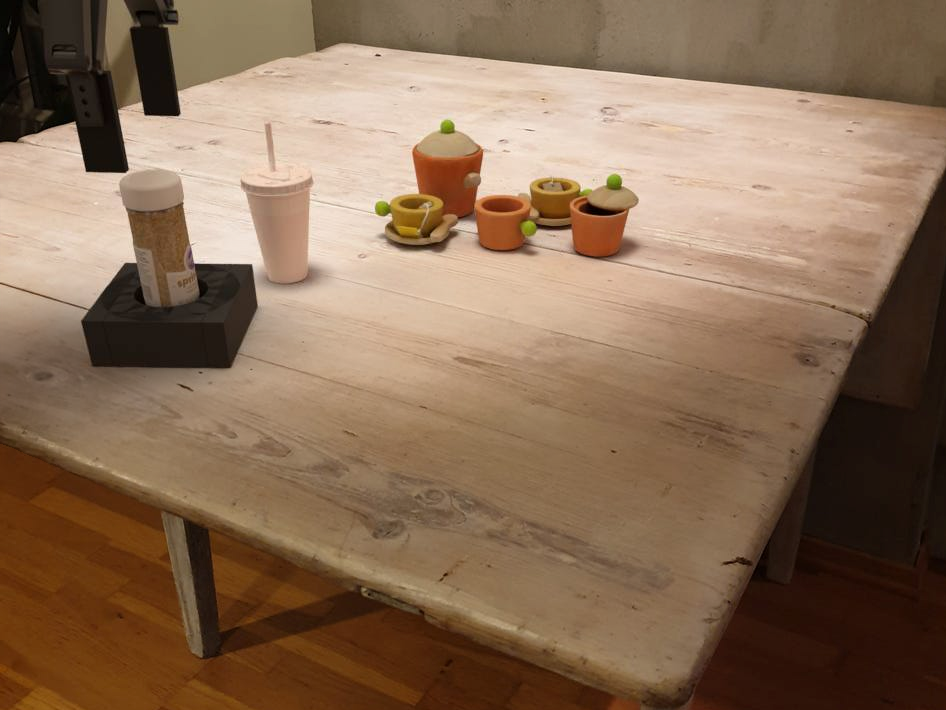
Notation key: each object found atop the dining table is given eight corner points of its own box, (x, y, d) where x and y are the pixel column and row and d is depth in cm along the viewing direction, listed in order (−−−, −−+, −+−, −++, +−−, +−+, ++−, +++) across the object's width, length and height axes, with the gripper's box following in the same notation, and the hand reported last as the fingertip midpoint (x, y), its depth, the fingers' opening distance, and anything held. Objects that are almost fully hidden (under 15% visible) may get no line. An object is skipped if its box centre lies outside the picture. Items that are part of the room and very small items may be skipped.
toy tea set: (367, 248, 96) (362, 151, 91) (403, 194, 109) (400, 107, 103) (631, 268, 93) (642, 169, 87) (637, 210, 105) (646, 121, 100)
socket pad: (91, 366, 77) (80, 320, 74) (133, 304, 86) (124, 262, 83) (230, 367, 76) (223, 322, 74) (258, 305, 86) (252, 263, 83)
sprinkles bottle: (208, 343, 80) (180, 184, 72) (150, 350, 79) (116, 189, 71) (205, 319, 83) (179, 165, 76) (150, 325, 82) (118, 169, 75)
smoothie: (302, 256, 95) (287, 109, 87) (334, 278, 90) (321, 127, 82) (241, 271, 91) (220, 121, 84) (271, 295, 87) (252, 140, 79)
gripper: (63, -200, 49) (137, 201, 62) (188, -205, 70) (225, 96, 82) (-84, -204, 49) (19, 198, 61) (84, -208, 70) (137, 94, 82)
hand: (137, 141), depth 72 cm, fingers open, 13 cm apart
